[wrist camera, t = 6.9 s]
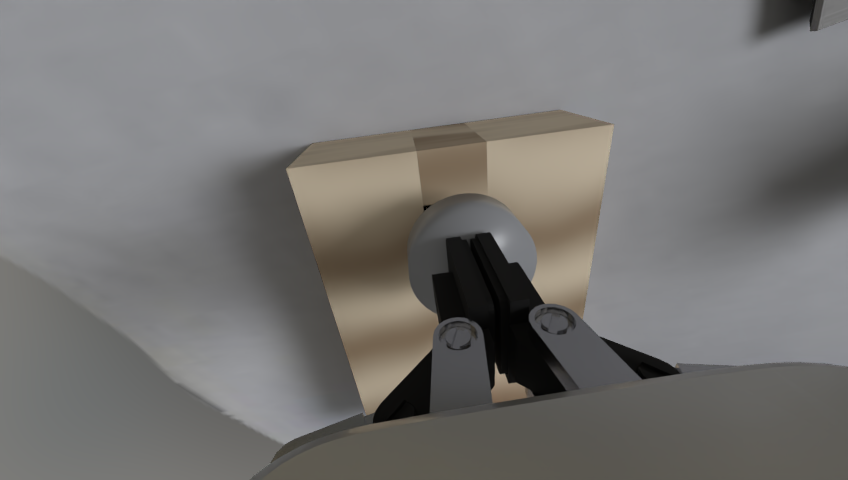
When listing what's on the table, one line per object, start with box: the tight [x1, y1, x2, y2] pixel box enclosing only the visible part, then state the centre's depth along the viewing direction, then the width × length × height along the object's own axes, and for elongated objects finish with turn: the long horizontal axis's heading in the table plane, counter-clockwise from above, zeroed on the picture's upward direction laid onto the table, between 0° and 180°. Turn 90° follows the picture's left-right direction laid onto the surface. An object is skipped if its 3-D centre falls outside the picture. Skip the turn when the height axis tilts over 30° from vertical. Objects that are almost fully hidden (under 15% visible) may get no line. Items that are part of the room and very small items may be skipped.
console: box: [286, 110, 614, 416], centre depth 21 cm, size 22×14×5 cm, turn 7°
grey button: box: [407, 193, 537, 314], centre depth 15 cm, size 5×5×6 cm
